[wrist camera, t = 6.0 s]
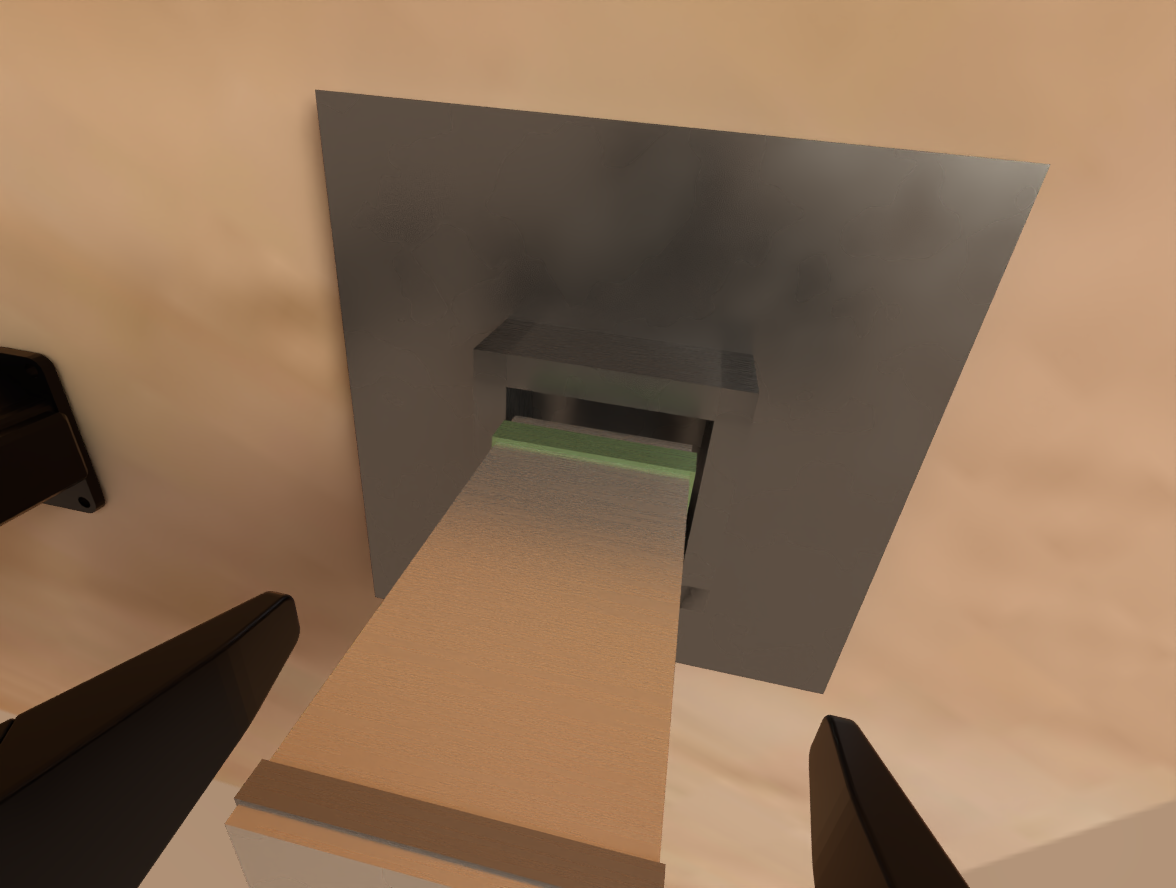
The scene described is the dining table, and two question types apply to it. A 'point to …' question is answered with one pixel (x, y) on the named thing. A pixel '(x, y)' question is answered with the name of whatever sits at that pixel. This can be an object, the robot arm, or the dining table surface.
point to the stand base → (666, 333)
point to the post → (499, 689)
